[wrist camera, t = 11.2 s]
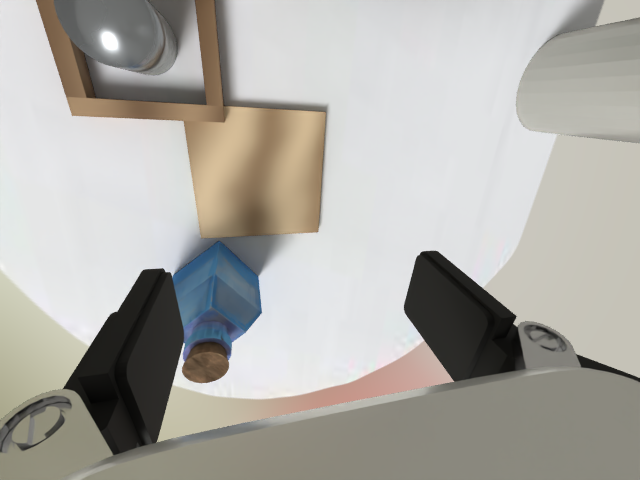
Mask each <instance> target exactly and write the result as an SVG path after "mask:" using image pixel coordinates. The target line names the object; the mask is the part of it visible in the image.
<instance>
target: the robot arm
mask: <svg viewBox="0 0 640 480" xmlns="http://www.w3.org/2000/svg"><path fill="white" fill-rule="evenodd" d="M516 111H517V115H518V118H519V121H520V122H521V124H522V125H523V127H525V128H526V129H528V130H530V131H535V132H542V133H551V134H560V135H569V136H578V137H587V138H596V139H605V140H614V141H623V142H632V143H640V18H636V19H631V20H625V21H621V22H615V23H610V24H606V25H601V26H596V27H591V28H586V29H581V30H576V31H571V32H566V33H563V34H560V35H557V36H555V37H554V38H552V39H550V40H549V41H547V42H546V43H545V44H544V45H543V46H542V47H541V48H540V49H539V50H538V51H537V52H536V54H535V55H534V56H533V57H532V59H531V60H530V62H529V64H528V65H527V67H526V69H525V71H524V73H523V75H522V78H521V80H520V83H519V87H518V91H517V97H516ZM404 311H405V314H406V315H407V317H408V318H409V319H410V321H411V322H412V324H413V325H414V326H415V328H416V329H417V330H418V332H419V333H420V335H421V336H422V337H423V339H424V340H425V342H426V343H427V344H428V346H429V347H430V348H431V350H432V351H433V353H434V354H435V355H436V357H437V358H438V360H439V361H440V362H441V364H442V365H443V367H444V368H445V369H446V371H447V372H448V373H449V375H450V376H451V378H452V379H453V380H454V381H455V382H451V383H445V384H441V385H435V386H430V387H424V388H420V389H414V390H409V391H404V392H398V393H393V394H388V395H383V396H378V397H372V398H368V399H362V400H357V401H352V402H347V403H342V404H337V405H331V406H326V407H322V408H316V409H311V410H307V411H302V412H296V413H292V414H286V415H281V416H276V417H272V418H267V419H262V420H257V421H252V422H247V423H241V424H237V425H232V426H227V427H223V428H218V429H214V430H209V431H204V432H200V433H196V434H191V435H186V436H182V437H177V438H172V439H169V440H165V441H161V442H157V439H158V436H159V432H160V429H161V425H162V421H163V417H164V414H165V410H166V406H167V402H168V399H169V395H170V391H171V387H172V384H173V380H174V376H175V372H176V368H177V365H178V361H179V357H180V353H181V350H182V346H183V342H184V329H183V324H182V320H181V315H180V311H179V306H178V302H177V297H176V292H175V288H174V283H173V279H172V275H171V273H170V272H165V270H164V269H163V268H162V269H146V270H143V271H142V272H141V274H140V276H139V277H138V279H137V280H136V282H135V284H134V285H133V287H132V289H131V290H130V292H129V294H128V295H127V297H126V298H125V300H124V302H123V303H122V305H121V307H120V308H119V310H118V312H114V313H112V314H111V315H110V316H109V317H108V319H107V320H106V322H105V323H104V325H103V327H102V328H101V330H100V331H99V333H98V334H97V336H96V338H95V339H94V341H93V342H92V344H91V345H90V347H89V349H88V351H87V352H86V353H85V355H84V357H83V358H82V360H81V361H80V363H79V364H78V366H77V367H76V369H75V371H74V372H73V374H72V375H71V377H70V378H69V380H68V382H67V383H66V385H65V386H64V388H63V389H60V390H53V391H49V392H46V393H42V394H40V395H38V396H35V397H33V398H31V399H29V400H27V401H25V402H24V403H22V404H21V405H19V406H18V407H16V408H14V409H13V410H12V411H10V412H9V413H8V414H7V415H6V416H5V417H3V418H2V419H1V420H0V480H640V378H638V377H636V376H633V375H630V374H628V373H625V372H623V371H620V370H617V369H614V368H612V367H609V366H607V365H604V364H601V363H598V362H596V361H593V360H590V359H588V358H585V357H583V356H580V355H577V354H576V353H575V351H574V349H573V346H572V345H571V343H570V342H569V341H568V340H567V339H566V338H565V337H564V336H563V335H561V334H560V333H559V332H557V331H556V330H554V329H552V328H550V327H548V326H545V325H543V324H540V323H536V322H529V321H525V322H521V323H520V324H519V325H518V327H516V326H515V325H514V324H513V323H514V321H515V319H516V315H514V314H513V313H512V312H511V311H510V310H508V309H507V308H506V307H505V306H503V305H502V304H501V303H500V302H499V301H497V300H496V299H495V298H494V297H493V296H491V295H490V294H489V293H488V292H487V291H485V290H484V289H483V288H482V287H480V286H479V285H478V284H477V283H476V282H474V281H473V280H472V279H471V278H469V277H468V276H467V275H466V274H465V273H463V272H462V271H461V270H460V269H458V268H457V267H456V266H455V265H454V264H452V263H451V262H450V261H449V260H448V259H446V258H445V257H444V256H443V255H441V254H440V253H439V252H438V251H423V252H421V253H420V255H418V256H417V258H416V261H415V265H414V269H413V273H412V277H411V281H410V285H409V288H408V292H407V296H406V300H405V304H404ZM156 442H157V443H156Z"/></svg>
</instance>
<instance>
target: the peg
mask: <svg viewBox="0 0 640 480" xmlns="http://www.w3.org/2000/svg"><path fill="white" fill-rule="evenodd" d="M54 6H55V11H56V14H57V17H58V19H59V21H60V24H61V26H62V27H63V29H64V31H65V32H66V34H67V35H68V37H69V38H70V39H71V40H72V41H73V43H74V44H75V45H76V46H77V47H78V48H79V49H80V50H82V51H83V52H84V53H85V54H87V55H88V56H90V57H91V58H93V59H94V60H96V61H98V62H101V63H103V64H106V65H109V66H113V67H117V68H121V69H125V70H129V71H133V72H137V73H141V74H145V75H152V76H155V75H160V74H163V73H165V72H167V71H168V70H169V69H170V68H171V67H172V66H173V64H174V62H175V59H176V56H177V43H176V39H175V36H174V33H173V31H172V29H171V27H170V25H169V24H168V22H167V21H166V20H165V19H164V17H163V16H162V15H161V14H160V13H159V12H158V11H157V10H156V9H155V8H154V7H153V6H152V5H151V4H150V2H149V1H148V0H54Z"/></svg>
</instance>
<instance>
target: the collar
mask: <svg viewBox="0 0 640 480" xmlns="http://www.w3.org/2000/svg"><path fill="white" fill-rule="evenodd" d="M36 2H37V5H38V8H39V12H40V15H41V18H42V21H43V24H44V28H45V31H46V34H47V37H48V40H49V43H50V47H51V50H52V53H53V56H54V59H55V63H56V66H57V69H58V72H59V75H60V78H61V82H62V85H63V88H64V91H65V94H66V98H67V101H68V104H69V107H70V110H71V113H72V116H91V117H113V118H134V119H156V120H178V121H200V122H222V123H224V122H225V118H224V102H223V90H222V79H221V67H220V56H219V44H218V33H217V21H216V10H215V0H195V5H196V14H197V23H198V32H199V41H200V50H201V58H202V67H203V76H204V85H205V94H206V103H207V105H198V104H182V103H168V102H152V101H135V100H119V99H102V98H96V96H95V92H94V89H93V85H92V81H91V78H90V74H89V70H88V67H87V63H86V59H85V55H84V52H83V51H82V50H80V49H79V48H78V47H77V46H76V45H75V44H74V43H73V41H72V40H71V39H70V38H69V37H68V35H67V34H66V32H65V31H64V29H63V27H62V26H61V24H60V21H59V19H58V17H57V14H56V11H55V6H54V0H36Z"/></svg>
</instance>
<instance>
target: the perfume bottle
mask: <svg viewBox="0 0 640 480" xmlns="http://www.w3.org/2000/svg"><path fill="white" fill-rule="evenodd" d="M172 279H173V283H174V288H175V292H176V297H177V302H178V306H179V311H180V315H181V320H182V324H183V329H184V342H183V343H185V347H184V352H183V359H184V361H185V363H184V365H183V367H182V373H183V375H184V376H185V377H186V378H187V379H188V380H190V381H193V382H197V383H208V382H212V381H216V380H218V379H219V378H221V377H223V376H224V375H225V374H226V372H227V371H228V369H229V362H228V360H229V358H230V356H231V348H232V342H233V341H234V340H236V339H237V338H239V337H240V336H241V335H243V334H244V333H246V331H247V330H248V329H249V328H250V326H251V325H252V324H253V323H254V322H255V320H256V319H257V318H258V317H259V316H260V314H261V313H262V309H261V299H260V290H259V280H258V276H257V275H256V274H255V273H254V272H253V271H252V270H250V269H249V268H248V267H247V266H246V265H245V264H244V263H243V262H242V261H241V260H240V259H239V258H238V257H236V256H235V255H234V254H233V253H232V252H231V251H230V250H229V249H228V248H227V247H226V246H225V245H224V244H222V243H221V242H220V241H218V242H217V243H215V244H214V245H213V246H211V247H210V248H209V249H207V250H206V251H205V252H203V253H202V254H201V255H199V256H198V257H197V258H195V259H194V260H193V261H192V262H190V263H189V264H188V265H186V266H185V267H184V268H182V269H181V270H180V271H178V272H177V273H176V274H174V275H173V278H172Z"/></svg>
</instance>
